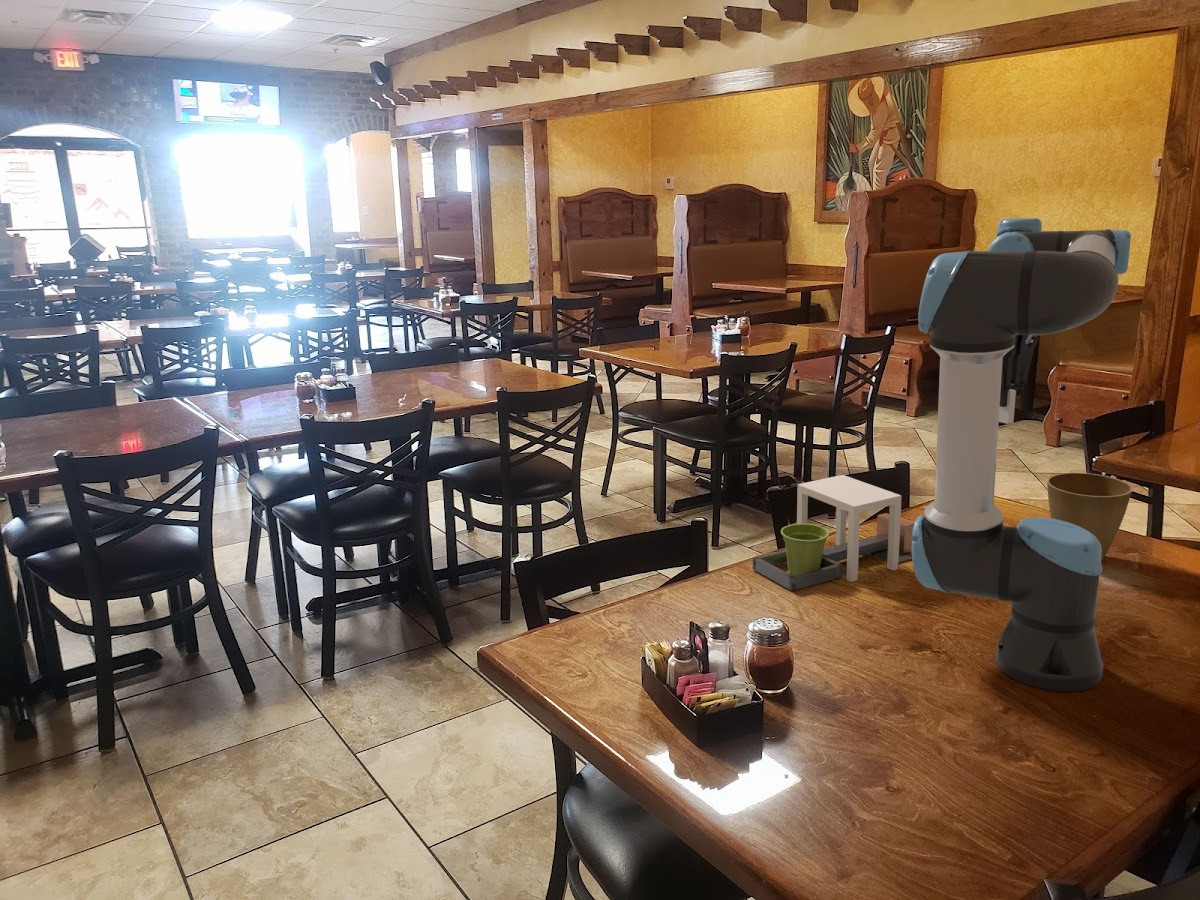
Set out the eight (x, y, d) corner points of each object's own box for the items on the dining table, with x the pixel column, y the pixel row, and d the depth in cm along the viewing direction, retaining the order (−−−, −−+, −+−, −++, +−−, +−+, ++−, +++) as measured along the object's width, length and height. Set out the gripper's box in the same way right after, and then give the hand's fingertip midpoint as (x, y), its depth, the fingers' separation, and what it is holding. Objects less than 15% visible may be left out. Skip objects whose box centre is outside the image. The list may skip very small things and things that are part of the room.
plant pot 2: (1024, 554, 188) (1030, 480, 184) (1074, 540, 194) (1082, 468, 190) (1088, 579, 175) (1097, 500, 171) (1140, 564, 181) (1150, 487, 177)
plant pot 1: (835, 568, 185) (836, 528, 183) (816, 585, 178) (817, 543, 176) (792, 559, 191) (793, 520, 188) (772, 575, 183) (772, 534, 181)
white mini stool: (920, 562, 186) (924, 490, 182) (851, 581, 179) (854, 506, 175) (862, 537, 201) (864, 470, 197) (796, 554, 193) (797, 484, 189)
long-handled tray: (920, 555, 189) (922, 526, 187) (791, 590, 175) (791, 560, 173) (877, 537, 200) (878, 510, 198) (752, 569, 186) (752, 540, 184)
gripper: (1021, 297, 180) (1012, 414, 186) (973, 303, 175) (965, 423, 181) (1054, 300, 174) (1044, 421, 180) (1006, 306, 168) (997, 430, 174)
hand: (1005, 421), depth 180 cm, fingers closed
